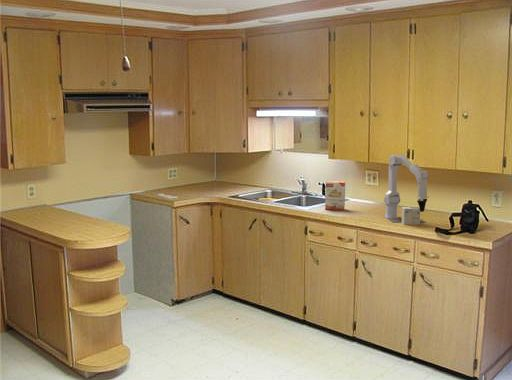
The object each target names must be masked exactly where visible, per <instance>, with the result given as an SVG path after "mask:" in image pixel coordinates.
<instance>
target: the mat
mask: <svg viewBox="0 0 512 380" xmlns="http://www.w3.org/2000/svg"><path fill="white" fill-rule="evenodd" d="M389 221H390V222H392V223H402V218H401V219H400V218H399V219H389ZM420 223H426V221H425V220H423V219H421V218H420Z"/></svg>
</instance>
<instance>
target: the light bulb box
mask: <svg viewBox="0 0 512 380" xmlns="http://www.w3.org/2000/svg"><path fill="white" fill-rule="evenodd" d="M401 219H402V222H401V224H402V225H404V226H405V225H406V226H410V225H413V226H415V225H416V226H417V225H418V226H419V225H420V223H421V222H420V219H421V212H420V208H419V206H406V207H405V206H402V207H401Z"/></svg>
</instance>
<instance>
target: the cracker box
mask: <svg viewBox="0 0 512 380" xmlns="http://www.w3.org/2000/svg"><path fill="white" fill-rule="evenodd" d="M324 202H325V204H324V205H325V206H324V209H325V210H332V211H333V210H334V211H345V205H346V204H345V202H346V181H339V180H338V181H336V180H327V181H326V182H325V201H324Z"/></svg>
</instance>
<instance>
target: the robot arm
mask: <svg viewBox="0 0 512 380" xmlns="http://www.w3.org/2000/svg"><path fill="white" fill-rule="evenodd" d="M402 165H403V166H405V167H407V168H408V169H409V172H410V173H411V174H413V175H414V177H415V179H416V183H417V198H418V199H417V201H416V202H417V204H418V208H420V213H421V212H423V213H424V211H425V208H426V203H427V201H428V199H429V198H430V197H429V195H428V179H429V178H430V173H429V171H428V170H424V169H423V168H421V167H420V166H419V165H418V164H413V163H412V162H411V161H410V160H409V159H408V156H406V155H405V154H391V156H389V158H388V191H387V192H386V193H385V194H384V195H385V196H384V199H383V202H384V204H385V205H386V206H385V214H384V215H383V216H384V217H385V218H386V219H400V218H399V216H398V206H399V204H400V203H401V198H400V193H399V192H398V191H397V189H398V187H397V186H398V168H399V167H400V166H402Z"/></svg>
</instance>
